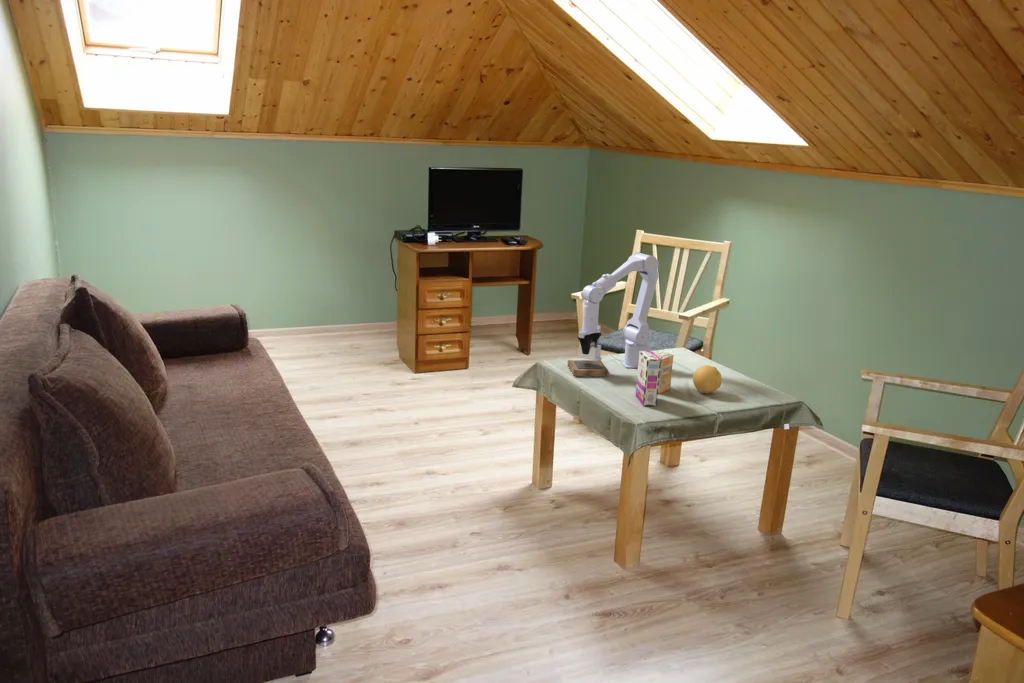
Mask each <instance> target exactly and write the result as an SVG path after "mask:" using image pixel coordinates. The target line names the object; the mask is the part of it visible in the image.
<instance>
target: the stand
mask: <svg viewBox="0 0 1024 683" xmlns="http://www.w3.org/2000/svg"><path fill="white" fill-rule="evenodd" d="M568 367H569V368H568ZM567 368H568V370H569V369H570V370H569V371H570V373H571V372H572V373H571V375H572V374H573V375H572V376H588V377H587V378H591V377H592V376H609V369H608V368H607V366H605V364H604V363H603V361H602V359H601V360H595V361H593V360H589V359H583V360H581V359H575V360H574V359H572V360H571V359H568V360H567ZM589 376H591V377H589Z"/></svg>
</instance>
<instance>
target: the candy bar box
mask: <svg viewBox="0 0 1024 683" xmlns="http://www.w3.org/2000/svg"><path fill="white" fill-rule="evenodd" d="M656 355H657V354H656V353H655V352H654V351H653V350H652V351H651V350H650V351H639V362H638V368H637V375H636V387H635V397H636V398H637V400H639V402H640V403H641V404H642V406H644V407H658V406H657V404H658V396H659V394H658V385H659V376H660V365H661V360H660V359H659V358H658V357H657V356H656Z"/></svg>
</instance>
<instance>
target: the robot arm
mask: <svg viewBox="0 0 1024 683" xmlns="http://www.w3.org/2000/svg"><path fill="white" fill-rule="evenodd" d="M659 266H660V262H659V260H658V259H657V257H656V256H654V255H650V254H645V253H641V252H639V251H636V252H634V253H633V254H632V255H630V256H629V257H628V259H627V261H625V262H624V263H623V264H622V265H620V266H619V267H618V268H617V269H615V270H614V271H613V272H612V273H611V274H610V273H604V274H602V275H601V277H600V278H599V279H597V280H596V281H593V282H592V283H591V284H588V285H586V286H584V287H583V289H582V292H580V296H581V298H582V301H583V302H582V303H583V307H582V308H583V311H582V327H581V329H580V331H579V332H578V335H577V339H578V341H579V343H580V344H581V348H582V353H583V354H586V355H588V353H589V348H590V344H591V341H594V342H595V344H597V345H598V341H599V339H600V337H601V336H602V333H601V327H602V326H601V325H599V311H600V302H602V300H603V298H604V296H605V295H606V294H607V293H608V292H610V291H611V290H613V289H614V288H615V287H616V286H617V282H618V281H620V280H621V279H623V278H624V277H626V276H628V275H629V274H630V273H632V272H638V273H639V275H640V277H641V278H642V280H641V283H640V288H639V292H638V296H637V300H636V303H635V307H634V310H633V313H632V317H631V318H629V319H627V322H626V325H625V326H624V327H623V330H622V336H623V339H624V342H625V347H624V360H621V362H620V363H621V364H622V365H623V366H624V367H625V369H626V368H627V369H638V362H639V351H651V346H650V344H649V343H648V341H649V338H650V335H649V332H650V326H649V324H648V322H647V320H648V316H649V314H650V313H649V312H650V309H651V304H652V301H653V297H654V294H655V290H656V287H657V282H658V280H659V271H658V270H659Z"/></svg>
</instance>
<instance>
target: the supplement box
mask: <svg viewBox="0 0 1024 683" xmlns="http://www.w3.org/2000/svg"><path fill="white" fill-rule="evenodd" d="M655 355H656V356H657V357H658V358H659V359H660V360H661V365H660V376H659V385H658V395H661V394H662V393H665V392H666V391H669V390H670V389H671V385H672V384H671V383H672V375H673V374H672V373H673V365H674V356H675V355H674V354H673V353H669V352H660V353H657V354H655Z"/></svg>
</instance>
